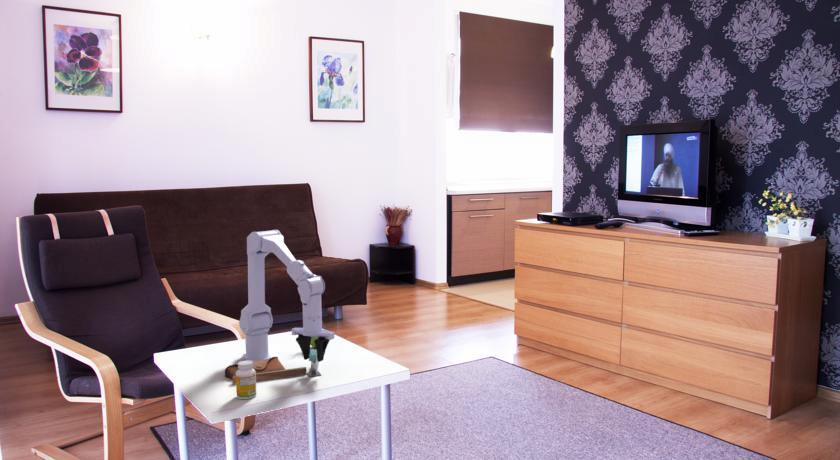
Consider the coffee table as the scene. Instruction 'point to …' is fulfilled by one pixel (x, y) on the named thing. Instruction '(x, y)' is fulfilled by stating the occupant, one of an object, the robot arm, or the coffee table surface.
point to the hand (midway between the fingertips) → (313, 359)
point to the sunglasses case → (257, 367)
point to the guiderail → (278, 374)
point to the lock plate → (314, 374)
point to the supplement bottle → (245, 380)
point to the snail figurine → (314, 339)
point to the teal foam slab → (313, 361)
